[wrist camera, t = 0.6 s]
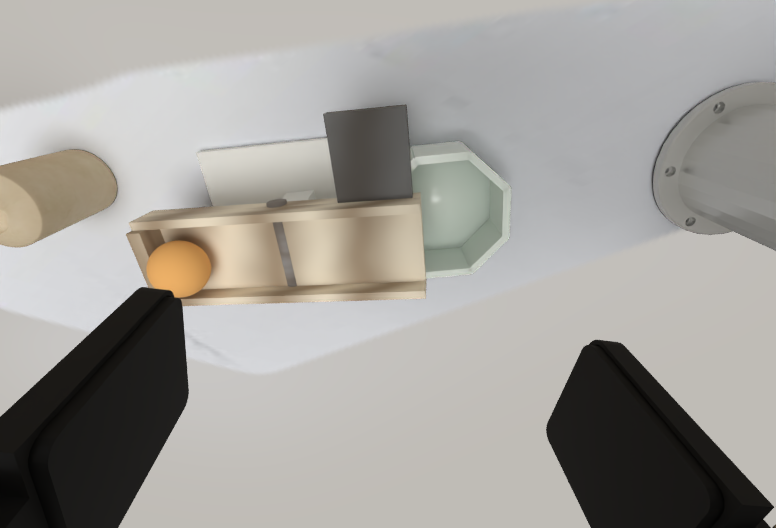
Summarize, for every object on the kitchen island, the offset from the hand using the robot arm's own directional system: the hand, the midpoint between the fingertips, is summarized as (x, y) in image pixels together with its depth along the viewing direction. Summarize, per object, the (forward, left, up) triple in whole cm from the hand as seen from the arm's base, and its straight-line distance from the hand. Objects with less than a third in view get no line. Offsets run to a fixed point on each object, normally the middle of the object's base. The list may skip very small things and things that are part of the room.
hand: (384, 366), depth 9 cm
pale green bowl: (-4, +5, -27) cm, 28 cm away
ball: (+15, +5, -17) cm, 23 cm away
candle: (+27, 0, -27) cm, 38 cm away
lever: (+8, +2, -20) cm, 21 cm away
